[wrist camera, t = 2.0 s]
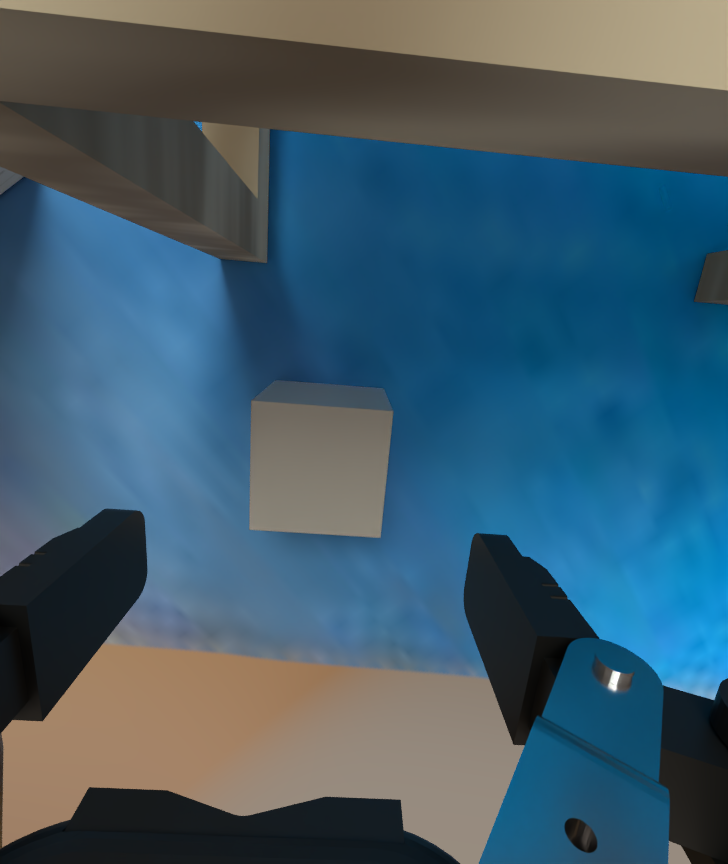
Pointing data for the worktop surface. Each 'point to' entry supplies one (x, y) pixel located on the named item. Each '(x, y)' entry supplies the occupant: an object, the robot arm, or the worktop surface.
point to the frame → (346, 95)
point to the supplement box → (8, 179)
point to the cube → (319, 458)
